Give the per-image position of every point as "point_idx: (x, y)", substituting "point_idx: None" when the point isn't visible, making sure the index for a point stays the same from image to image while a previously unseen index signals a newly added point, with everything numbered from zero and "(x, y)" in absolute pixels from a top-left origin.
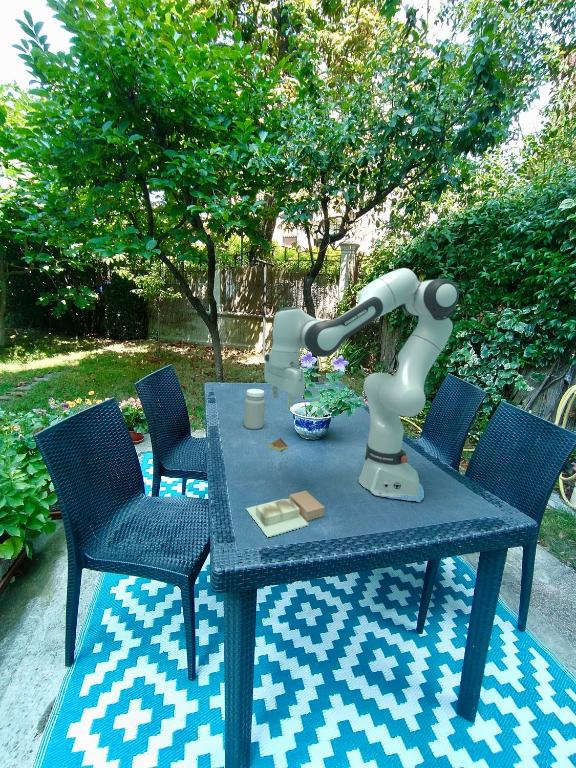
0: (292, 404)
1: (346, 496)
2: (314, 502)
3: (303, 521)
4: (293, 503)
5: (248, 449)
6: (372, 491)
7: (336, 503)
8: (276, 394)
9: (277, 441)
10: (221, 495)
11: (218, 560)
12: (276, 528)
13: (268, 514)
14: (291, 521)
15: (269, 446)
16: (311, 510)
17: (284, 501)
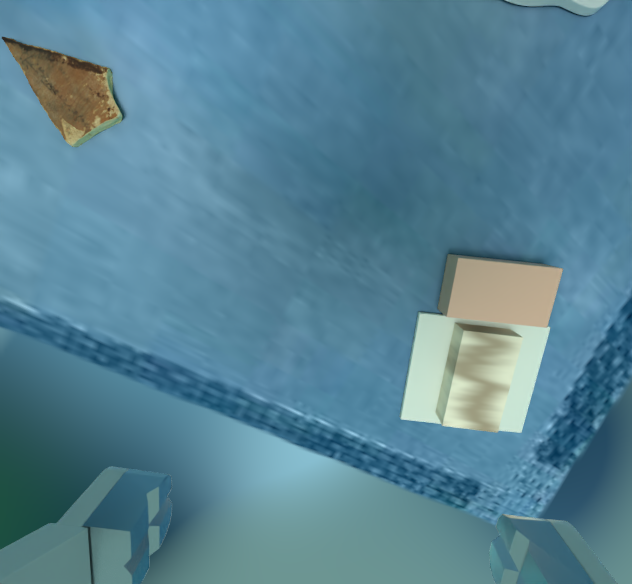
0: (583, 550)
1: (518, 117)
2: (525, 278)
3: (533, 331)
4: (492, 336)
5: (68, 228)
6: (581, 4)
7: (524, 181)
8: (137, 545)
9: (40, 79)
10: (310, 433)
11: None
12: (511, 402)
13: (489, 418)
14: None
15: (75, 143)
16: (549, 312)
17: (468, 351)
